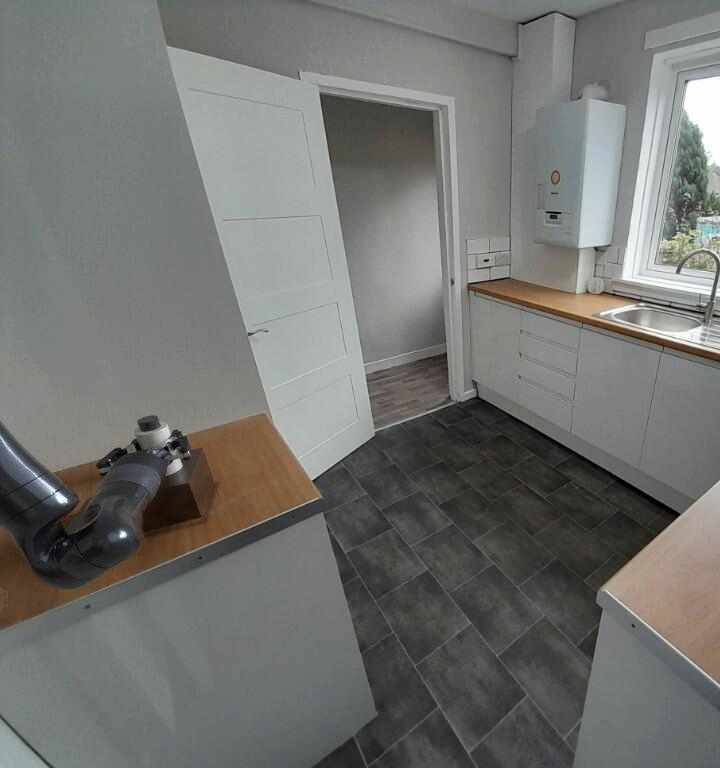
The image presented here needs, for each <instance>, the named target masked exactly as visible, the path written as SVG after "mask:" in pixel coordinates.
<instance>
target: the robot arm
mask: <svg viewBox="0 0 720 768" xmlns="http://www.w3.org/2000/svg"><path fill="white" fill-rule="evenodd" d="M171 446H172V448H171ZM191 450H192V449H191V445H190V442H189V440H188V437H187V436H186V435H185V436H183V433H182V431H181V430H179V429H173V430H172V432H171V436H170V437H169V439H168V440H167V441H165V442H160V443H159V444H158V445H156V446H155V447H154V448H150V449H148V450H141V449H140V447H139V444H138V442H137V439H136V438H134V439H132V440H131V442H130V443H129V444H127V445H125V447H124V448H122V447H115V448H113V449H112V450H111V451H109V452H108V453H107V454H106V455H105V456H103V457H102V458H101V459H100V460H99V461H97V463H95V467H96V469H97V471H98V473H99V476H100V477H103V478H102V480H101V481H100V483H99V485H98V486H97V489H96V492H94V495H93V496H92V497H91V498H92V499H91V500H90V502H89V503H88V505H87V506H86V508H85V510H84V512H83V515H82V525H83V527H81V528H80V529H78V530H76V531H74V532H73V533H71V534H68V533H67V532H66V531H65V529H66V528H65V526H64V524H63V519H64V518H66V517H67V516H68V515H69V514H70V513H71V512H73V511H74V510H75V509H76V507H78V505H79V503H80V498H79V495H78V494H77V493H76V491H74V490H73V489H72V488H71V487H70V486H69V485H68V484H66V483H65V482H64V481H63V480H61V479H60V478H59V477H58V476H57V475H56V474H55V473H53V472H52V471H51V470H50V469H49V468H48V467H47V466H45V465H44V464H43V463H42V462H40V461H39V460H38V459H37V458H36V457H35V456H34V455H32V453H30V452H29V450H27V448H25V446H24V445H23V444H22V443H21V442H19V440H18V439H17V438H16V437H15V435H13V434H12V432H11V431H10V430H9V428H7V427H6V425H5V424H4V422H3V421H2V420H1V419H0V528H1V529H2V530H4V531H5V532H7V534H8V535H9V536H10V538H11V540H12V542H13V543H14V545H15V547H16V549H18V551H19V552H20V554H21V556H22V557H23V559H24V560H25V562H26V564H27V565H28V567H29V569H30V570H31V572H32V573H33V574H34V576H35V577H36V578H37V579H38V580H39V581H40V582H41V583H42V584H44V585H46V586H48V587H51V588H54V589H56V590H57V589H58V590H75V589H78V588H81V587H84V586H86V585H87V584H89V583H91V582H92V581H94V580H96V579H97V578H98V577H100V576H102V575H104V574H106V573H107V572H109V571H111V570H112V569H113V568H115V567H116V566H118V565H120V564H122V563H123V562H125V561H126V560H128V559H129V558H130V557H132V556H133V555H134V554H135V553H136V552H137V551H138V550H139V548H140V547H141V545H142V544H143V541H144V539H145V532H144V526H143V525H144V521H143V515H144V513H145V511H146V509H147V507H148V505H149V503H150V502H151V501H152V500H153V498H154V497H155V495H156V493H157V491H158V489H159V487H160V485H161V483H162V481H163V479H164V477H165V475H166V472H167V467H168V466H169V465H170V464H171V463H172V462H173V460H176V459H180V458H183V460H184V461H187V460H190V459H191Z"/></svg>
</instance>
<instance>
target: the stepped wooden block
mask: <svg viewBox="0 0 720 768" xmlns="http://www.w3.org/2000/svg"><path fill="white" fill-rule="evenodd" d="M180 459H181V462H182V465H183V466H182V468H181V469H180V470H179V471H177V472H175V473H173V474H171V475H168V476H165V477H164V479H163V481H162V483H161V485H160V487H159V489H158V491H157V493H156V495H155V497H154V498H153V500H152V501H151V502H150V503H149V505H148V507H147V509H146V511H145V513H144V515H143V521H144V525H143V526H144V533H145V532H148V531H152V530H156V529H160V528H165V527H168V526H172V525H176V524H180V523H184V522H187V521H192V520H195V519H199V518H202V517H203V513H204V510H205V508H206V505H207V501H208V499H209V495H210V492H211V490H212V486H213V484H214V481H215V480H214V477H213V474H212V471H211V469H210V465H209V463H208V459H207V457H206V453H205V450H204V447H199V448H194V449H191V459H190V460H187V461H184V460H183V458H180ZM91 499H92V497H88V498H87V499H86V500H85V501H84V503H83V504H82V505H81V507H80V508H79V510H78V511H77V512H76V514H75V515H74V517H73V518H72V519H71V520H70V522H69V524H68V525H67V527H66V528H64V529H65V531H66V532H67V533H68V534H71V533H73V532H74V531H76V530H78V529H80V528H81V527H83V525H82V515H83V512H84V510H85V508H86V506H87V505H88V503H89V502H90V500H91Z"/></svg>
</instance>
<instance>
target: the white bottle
mask: <svg viewBox="0 0 720 768" xmlns="http://www.w3.org/2000/svg"><path fill="white" fill-rule="evenodd" d="M136 424H137V426H138V427H137V428H135V429H134V430H133V435H134V437H135V439H137V442H138V444H139V447H140V449H141V450H148V449H150V448H154V447H155V446H156V445H158V444H159V443H160V442H165V441H167V440H168V439H169V437H170V436H171V433H172V432H171V429H170V427H169V424H168V422H167V421H160V418H159V416H158V415H154V414H152V415H147V416H143V417H140V418H139V419H137V421H136ZM171 448H172V446H171ZM182 466H183V465H182V462H181V459H176V460H173V462H172V463H171V464H170V465H169V466H168V467H167V472H166V475H165V476H168V475H171V474H173V473H175V472H177V471H179V470H180V469H181V468H182Z"/></svg>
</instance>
